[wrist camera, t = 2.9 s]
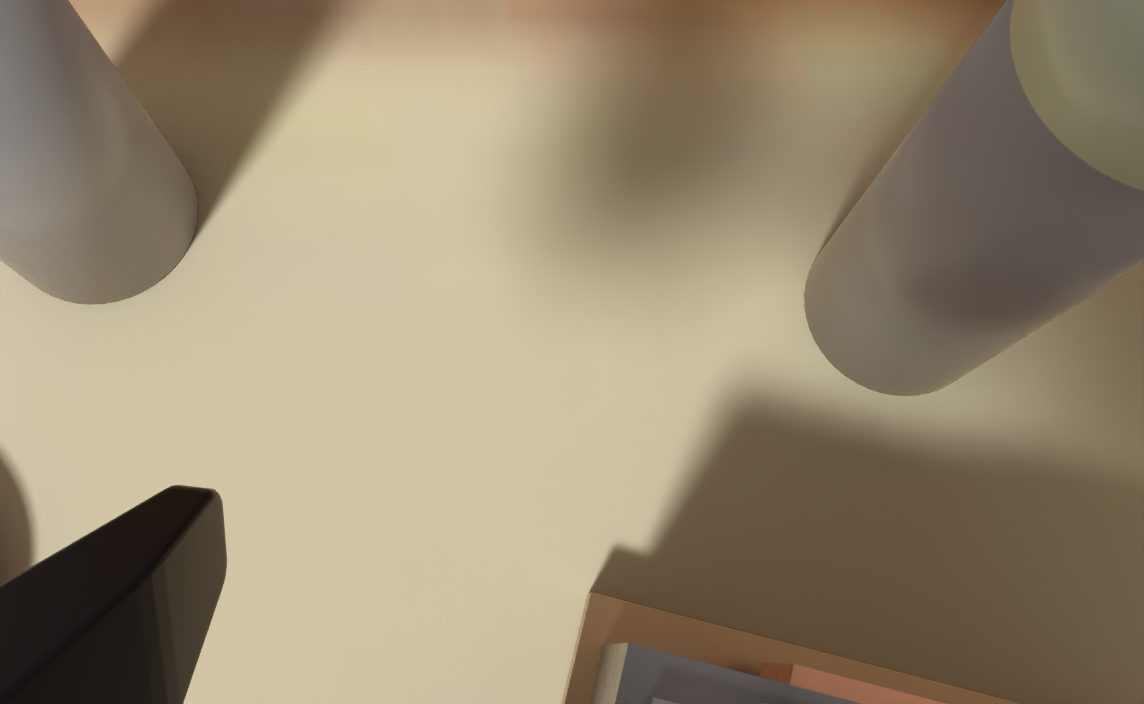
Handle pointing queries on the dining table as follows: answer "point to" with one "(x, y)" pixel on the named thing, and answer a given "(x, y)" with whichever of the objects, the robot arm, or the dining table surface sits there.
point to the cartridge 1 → (82, 165)
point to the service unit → (724, 666)
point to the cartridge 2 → (993, 202)
